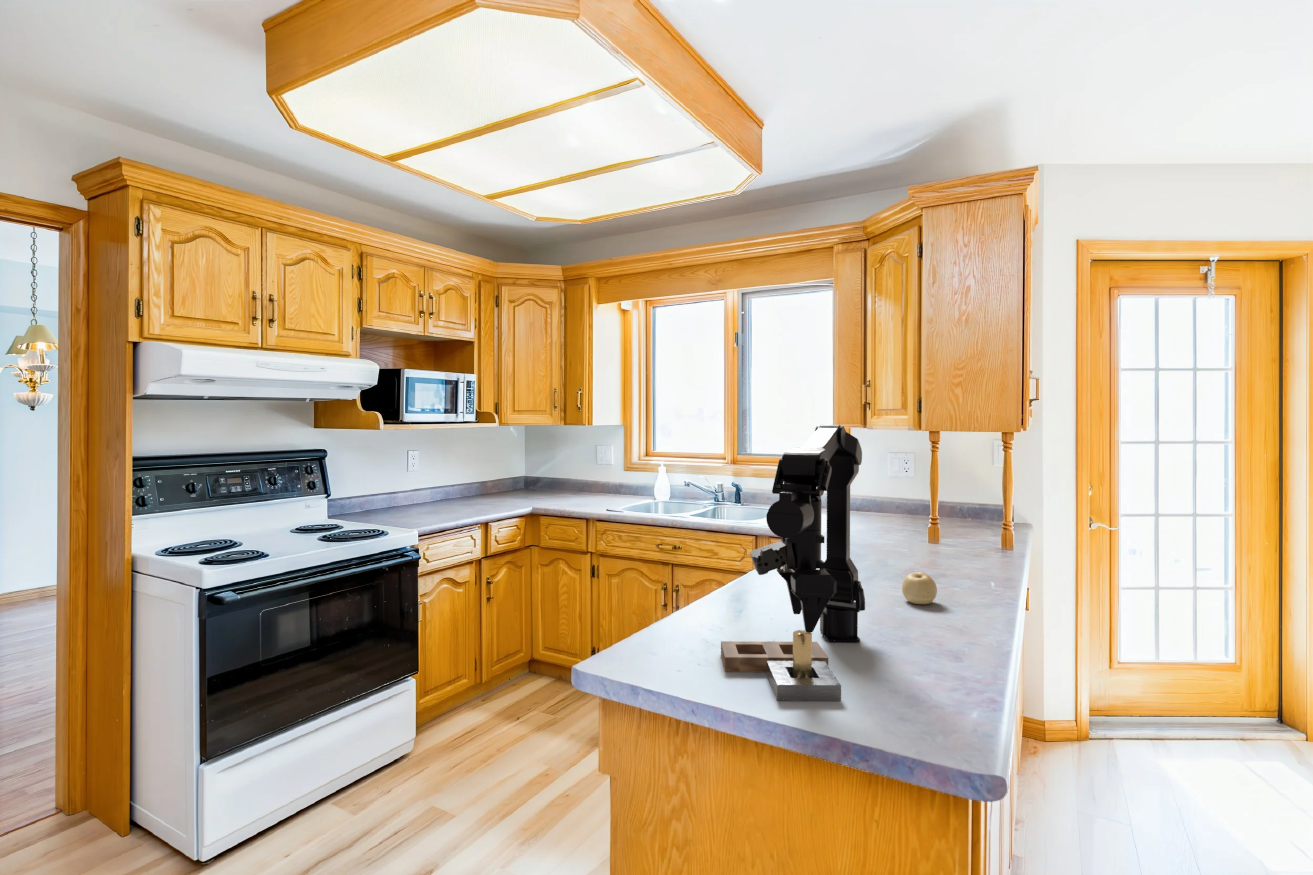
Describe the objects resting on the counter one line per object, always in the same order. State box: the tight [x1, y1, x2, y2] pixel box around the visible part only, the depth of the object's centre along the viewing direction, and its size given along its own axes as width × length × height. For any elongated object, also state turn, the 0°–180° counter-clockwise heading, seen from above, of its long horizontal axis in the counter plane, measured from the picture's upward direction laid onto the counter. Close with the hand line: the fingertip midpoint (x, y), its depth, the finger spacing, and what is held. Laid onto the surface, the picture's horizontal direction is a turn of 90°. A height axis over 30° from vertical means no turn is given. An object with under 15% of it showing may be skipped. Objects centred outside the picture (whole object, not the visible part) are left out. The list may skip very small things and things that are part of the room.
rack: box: [720, 640, 829, 673], centre depth 115 cm, size 18×8×2 cm, turn 89°
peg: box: [792, 629, 813, 678], centre depth 105 cm, size 3×3×9 cm
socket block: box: [766, 661, 842, 702], centre depth 105 cm, size 10×10×2 cm
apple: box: [901, 571, 938, 605], centre depth 154 cm, size 8×8×8 cm
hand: (802, 622), depth 104 cm, fingers open, 9 cm apart
